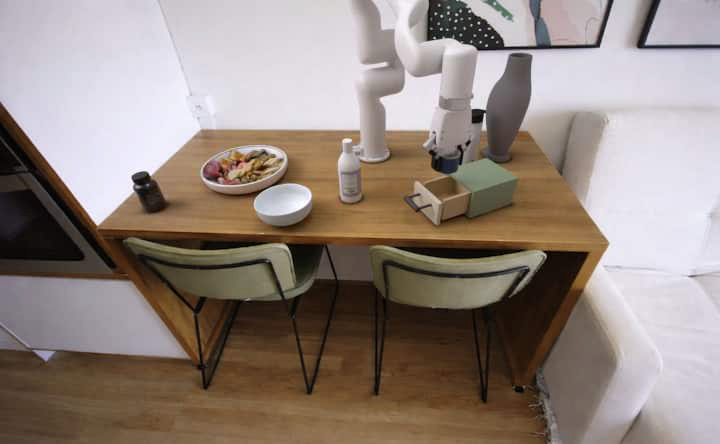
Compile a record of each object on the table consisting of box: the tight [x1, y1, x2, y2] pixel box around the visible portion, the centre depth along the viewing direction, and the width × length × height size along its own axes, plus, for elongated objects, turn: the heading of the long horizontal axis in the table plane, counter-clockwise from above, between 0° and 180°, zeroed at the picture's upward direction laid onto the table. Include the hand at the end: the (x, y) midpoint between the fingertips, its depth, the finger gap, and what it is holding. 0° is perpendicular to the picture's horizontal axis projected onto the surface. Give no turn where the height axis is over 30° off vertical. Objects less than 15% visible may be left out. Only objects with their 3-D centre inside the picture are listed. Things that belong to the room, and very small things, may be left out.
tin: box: [436, 146, 461, 175], centre depth 93 cm, size 7×7×5 cm
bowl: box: [200, 144, 289, 195], centre depth 123 cm, size 30×30×8 cm
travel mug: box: [459, 108, 486, 166], centre depth 118 cm, size 6×7×20 cm
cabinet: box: [443, 157, 519, 219], centre depth 104 cm, size 16×14×9 cm
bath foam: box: [337, 137, 363, 204], centre depth 105 cm, size 7×7×20 cm
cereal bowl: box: [253, 183, 314, 227], centre depth 102 cm, size 17×17×7 cm
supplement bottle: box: [130, 170, 168, 213], centre depth 108 cm, size 7×7×12 cm
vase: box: [481, 52, 534, 163], centre depth 118 cm, size 13×13×35 cm
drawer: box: [402, 175, 472, 226], centre depth 100 cm, size 20×13×7 cm, turn 114°
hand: (446, 165), depth 94 cm, fingers closed on tin, 6 cm apart
